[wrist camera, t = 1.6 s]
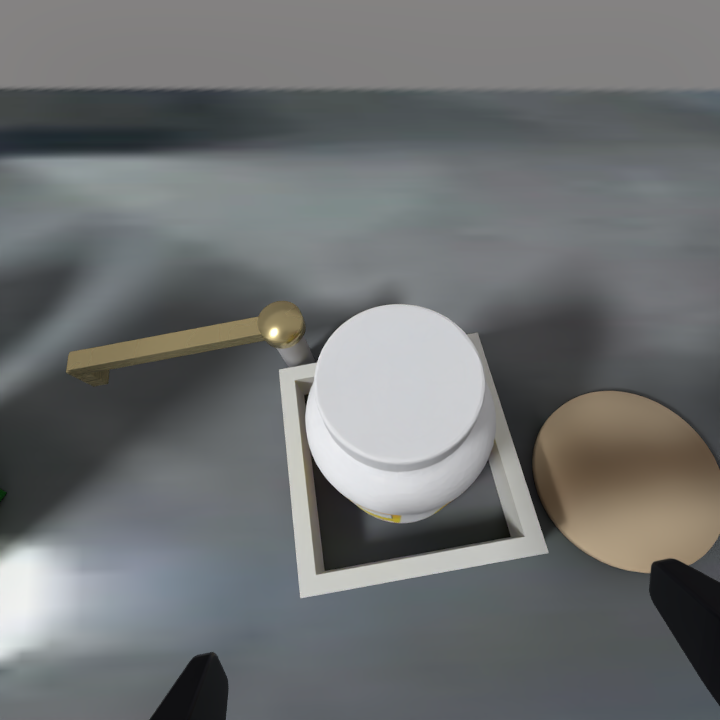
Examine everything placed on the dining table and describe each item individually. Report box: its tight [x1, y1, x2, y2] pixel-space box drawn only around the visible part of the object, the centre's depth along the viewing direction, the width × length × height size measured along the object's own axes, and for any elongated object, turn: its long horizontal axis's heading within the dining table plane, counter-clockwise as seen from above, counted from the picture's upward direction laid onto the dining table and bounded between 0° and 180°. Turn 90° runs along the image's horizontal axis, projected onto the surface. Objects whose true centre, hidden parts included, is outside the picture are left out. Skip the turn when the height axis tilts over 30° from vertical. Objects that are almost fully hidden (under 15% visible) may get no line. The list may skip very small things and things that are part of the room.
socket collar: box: [277, 332, 549, 598], centre depth 21 cm, size 13×11×5 cm
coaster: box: [532, 391, 720, 573], centre depth 21 cm, size 9×9×1 cm
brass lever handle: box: [66, 301, 306, 387], centre depth 21 cm, size 2×12×2 cm, turn 100°
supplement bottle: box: [305, 304, 496, 523], centre depth 17 cm, size 7×7×13 cm
